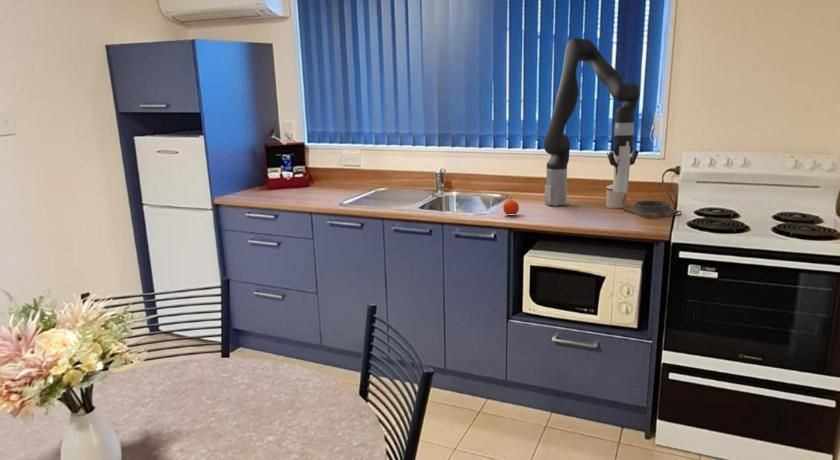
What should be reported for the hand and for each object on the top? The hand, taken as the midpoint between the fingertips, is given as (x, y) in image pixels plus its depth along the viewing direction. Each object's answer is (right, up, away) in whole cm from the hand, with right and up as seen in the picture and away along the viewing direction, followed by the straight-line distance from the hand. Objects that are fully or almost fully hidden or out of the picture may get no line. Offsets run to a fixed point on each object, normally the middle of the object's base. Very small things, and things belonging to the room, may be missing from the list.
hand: (621, 175), depth 243 cm
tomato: (-44, -16, +16) cm, 49 cm away
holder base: (+15, -15, +8) cm, 23 cm away
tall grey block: (0, -7, +2) cm, 7 cm away
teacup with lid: (+6, -12, +24) cm, 28 cm away
